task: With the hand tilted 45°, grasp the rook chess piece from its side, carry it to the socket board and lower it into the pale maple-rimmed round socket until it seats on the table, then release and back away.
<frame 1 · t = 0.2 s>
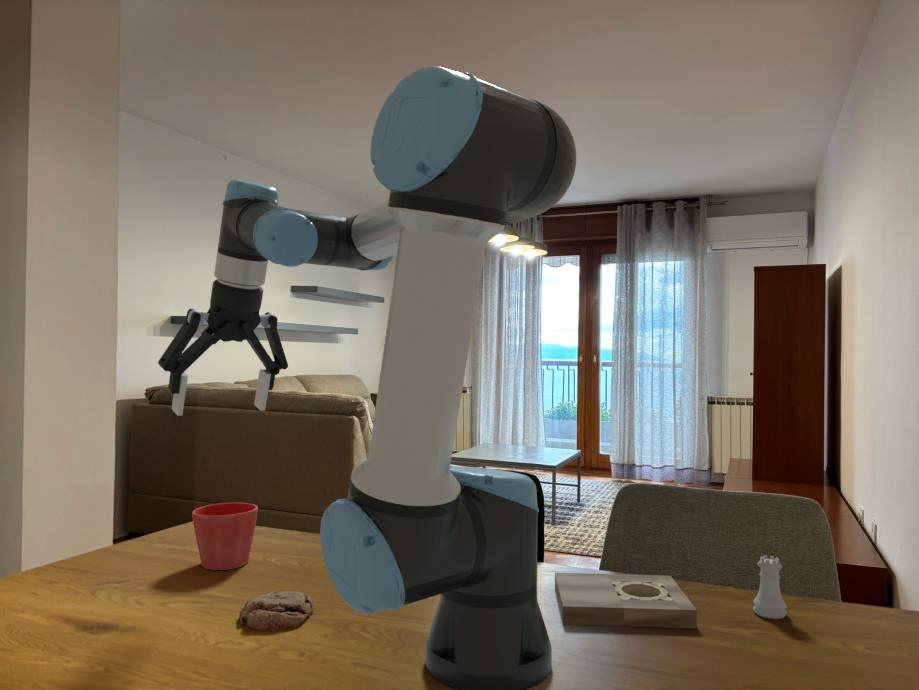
hand: (219, 410, 108), 28 cm above the table, tool tilted 20°, fingers open, 13 cm apart
cookie: (277, 619, 94), on the table
flower pot: (225, 564, 117), on the table
rook chess piece: (769, 615, 95), on the table
socket board: (620, 606, 98), on the table
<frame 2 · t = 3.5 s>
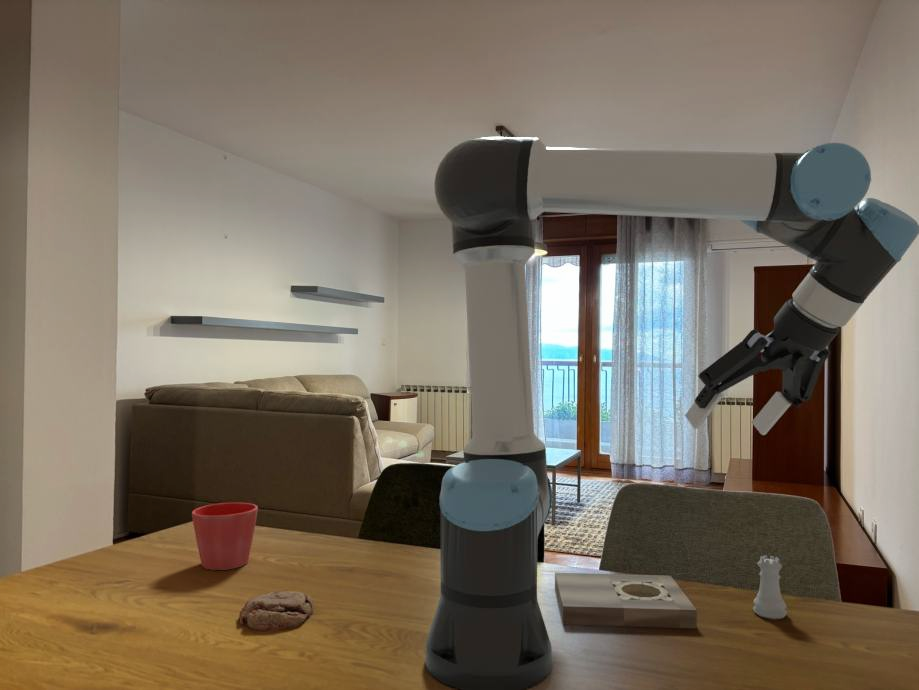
hand: (725, 425, 100), 27 cm above the table, tool tilted 40°, fingers open, 13 cm apart
nothing on the table moved.
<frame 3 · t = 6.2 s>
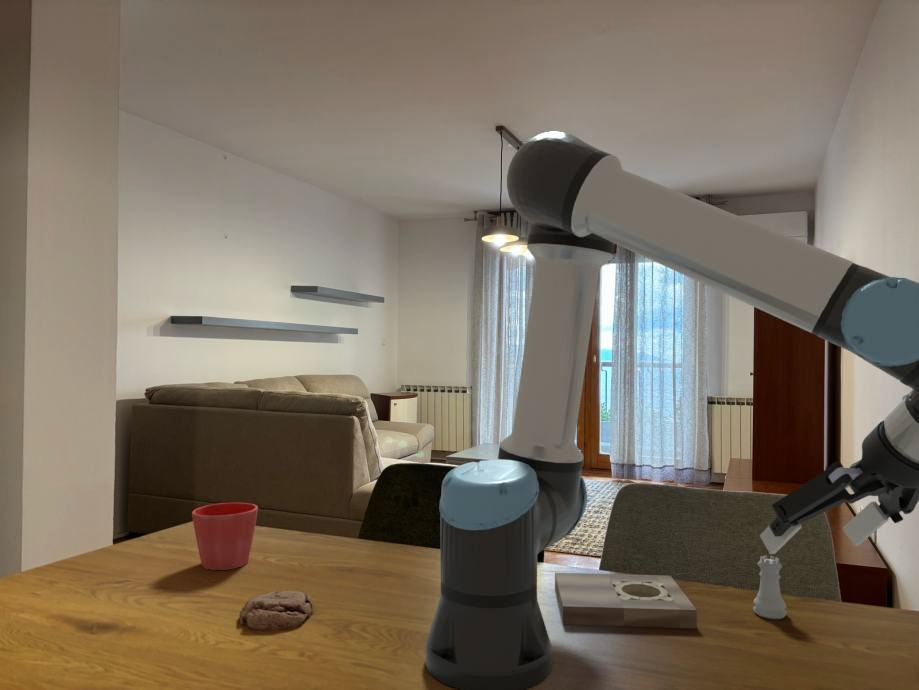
hand: (809, 540, 89), 12 cm above the table, tool tilted 45°, fingers open, 13 cm apart
nothing on the table moved.
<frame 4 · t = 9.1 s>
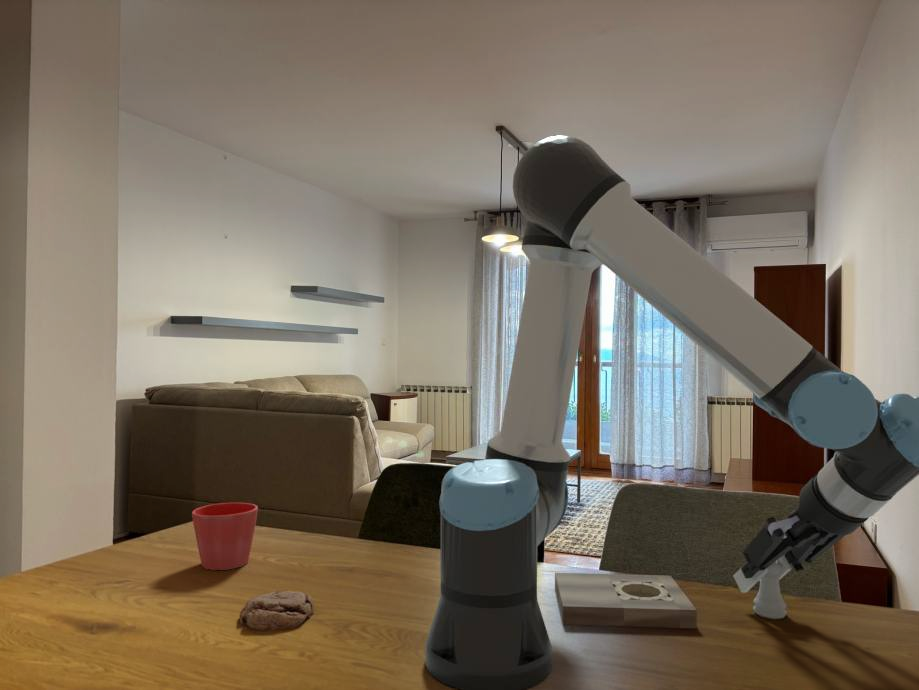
hand: (751, 582, 99), 3 cm above the table, tool tilted 45°, fingers closed on rook chess piece, 3 cm apart
rook chess piece: (769, 615, 95), on the table, touching gripper
everything else where it was.
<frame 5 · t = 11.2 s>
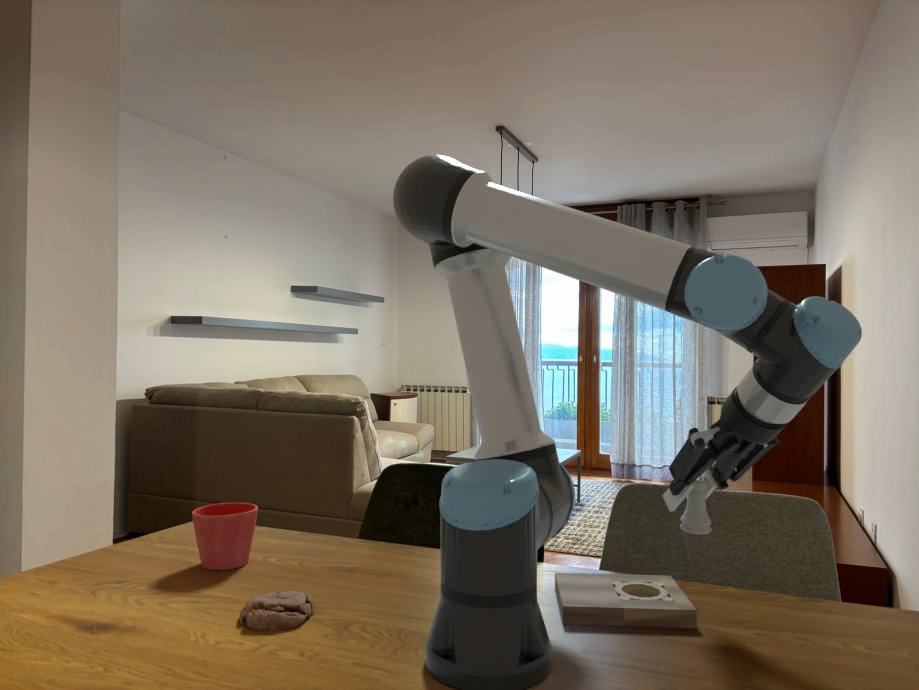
hand: (679, 502, 101), 15 cm above the table, tool tilted 45°, fingers closed on rook chess piece, 3 cm apart
rook chess piece: (695, 532, 97), point 11 cm above the table, touching gripper
everything else where it was.
when the fingers open (5 cm above the table, at t = 13.4 s): rook chess piece drops 2 cm, resting in socket board.
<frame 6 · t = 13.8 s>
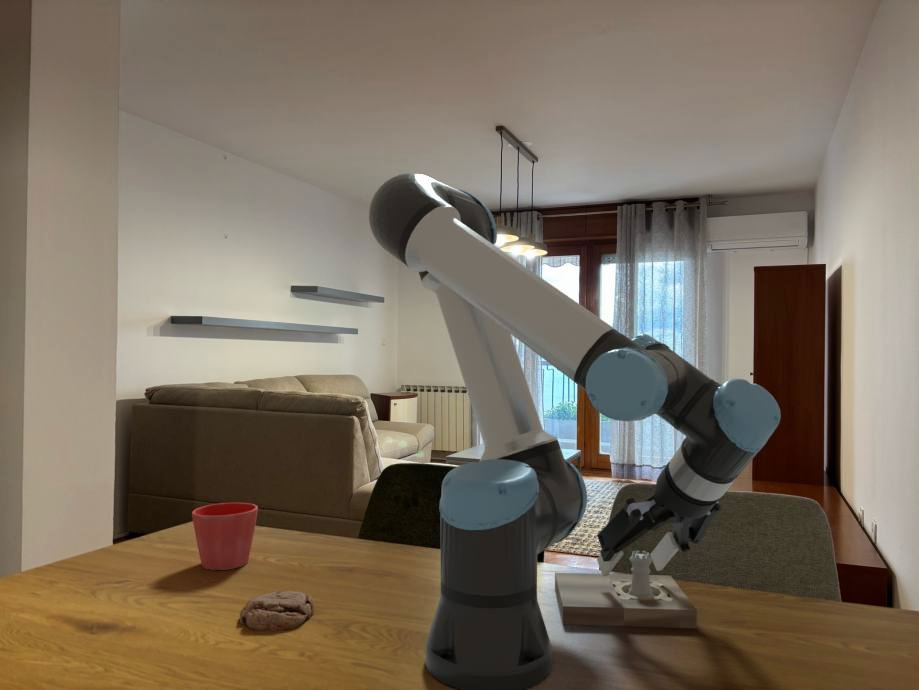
hand: (629, 565, 101), 5 cm above the table, tool tilted 45°, fingers open, 8 cm apart
rook chess piece: (640, 609, 97), resting in socket board
everything else where it was.
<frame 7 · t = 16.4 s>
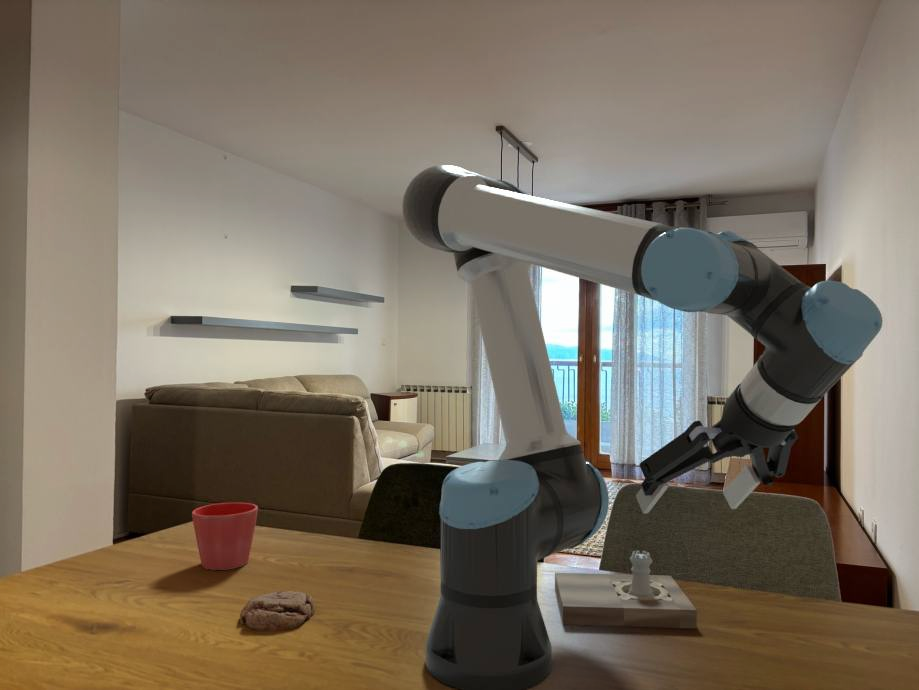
hand: (686, 502, 90), 17 cm above the table, tool tilted 45°, fingers open, 13 cm apart
nothing on the table moved.
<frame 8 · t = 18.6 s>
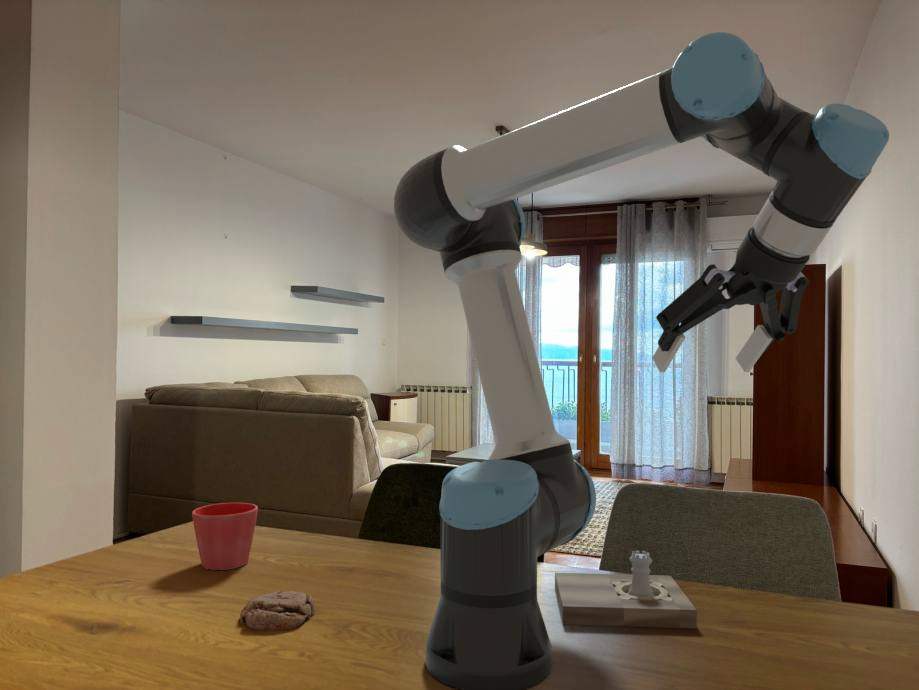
hand: (700, 365, 93), 36 cm above the table, tool tilted 45°, fingers open, 13 cm apart
nothing on the table moved.
at the end: rook chess piece 0.1 cm from the target spot in the socket board, point 0.0 cm above the socket board's base; rook chess piece tilted 0°; the gripper is holding nothing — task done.
